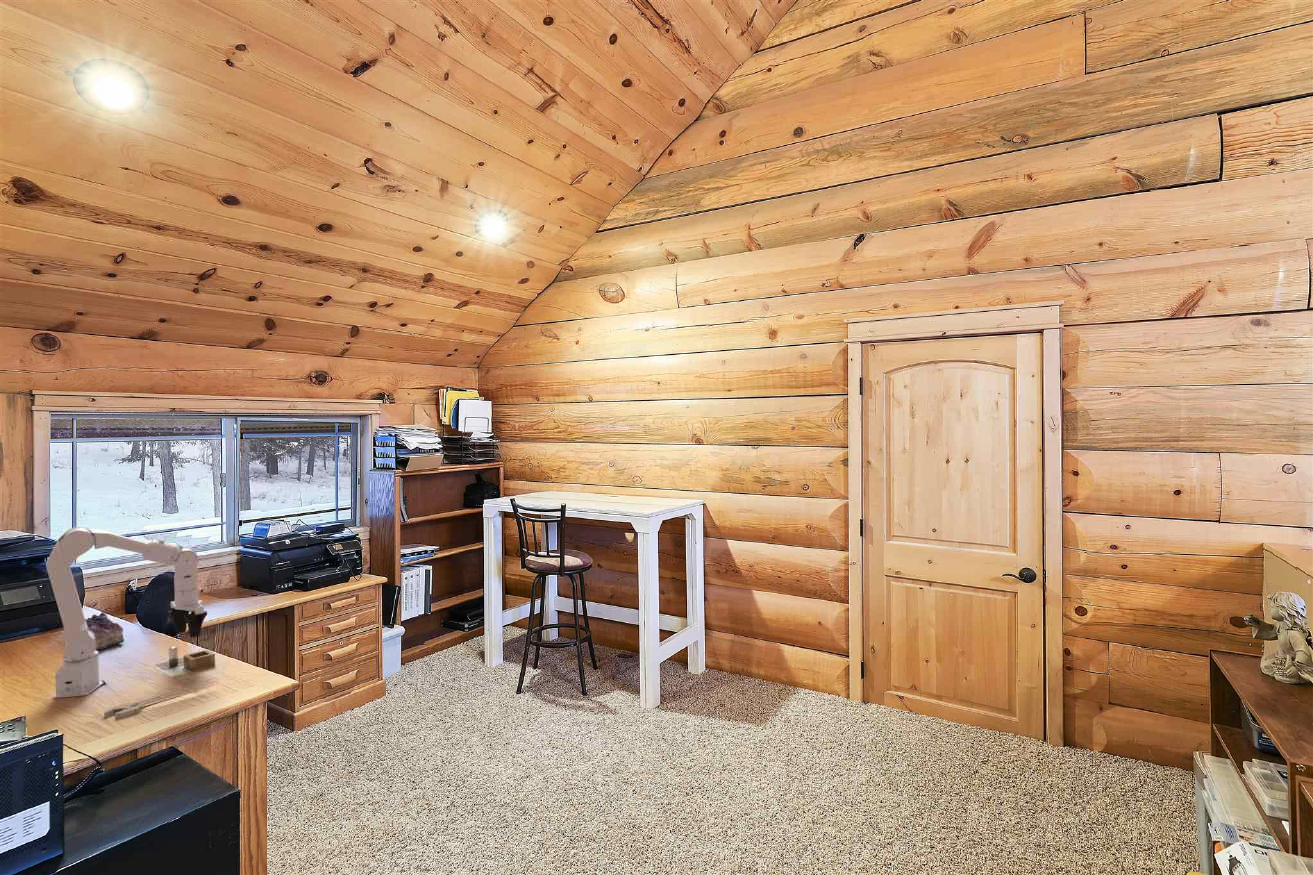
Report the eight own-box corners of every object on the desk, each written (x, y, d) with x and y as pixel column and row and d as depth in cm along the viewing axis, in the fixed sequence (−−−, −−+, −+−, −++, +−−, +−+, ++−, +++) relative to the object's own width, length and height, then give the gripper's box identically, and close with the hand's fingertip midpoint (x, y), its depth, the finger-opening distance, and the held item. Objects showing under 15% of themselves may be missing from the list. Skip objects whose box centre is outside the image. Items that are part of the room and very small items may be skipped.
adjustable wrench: (215, 683, 183) (215, 676, 183) (225, 688, 180) (225, 682, 180) (102, 716, 163) (102, 709, 163) (111, 723, 159) (111, 715, 159)
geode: (65, 643, 216) (69, 613, 217) (109, 639, 225) (113, 609, 226) (79, 654, 203) (83, 622, 204) (125, 649, 212) (129, 618, 213)
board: (219, 667, 194) (219, 664, 194) (170, 680, 184) (170, 677, 184) (201, 657, 202) (201, 654, 202) (154, 669, 192) (153, 665, 192)
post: (191, 663, 194) (191, 646, 194) (163, 670, 189) (163, 653, 189) (183, 658, 199) (182, 641, 198) (155, 665, 193) (154, 648, 193)
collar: (215, 665, 193) (214, 653, 193) (191, 671, 188) (191, 659, 188) (207, 660, 196) (206, 649, 196) (183, 666, 192) (183, 655, 191)
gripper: (214, 588, 194) (215, 634, 194) (188, 583, 201) (189, 627, 201) (188, 594, 188) (189, 641, 188) (162, 588, 195) (163, 633, 195)
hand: (187, 634), depth 194 cm, fingers open, 7 cm apart
